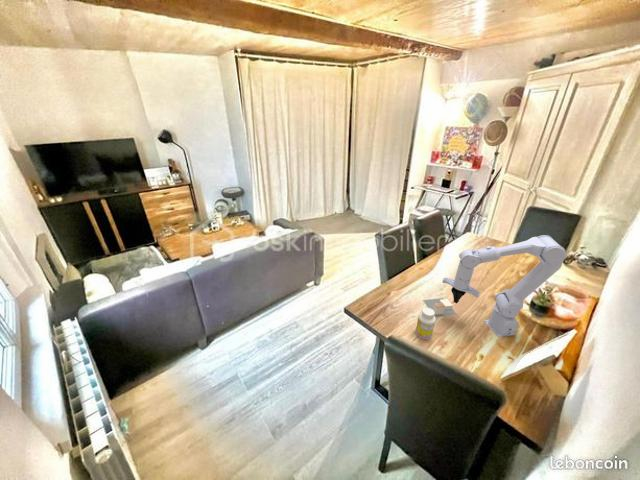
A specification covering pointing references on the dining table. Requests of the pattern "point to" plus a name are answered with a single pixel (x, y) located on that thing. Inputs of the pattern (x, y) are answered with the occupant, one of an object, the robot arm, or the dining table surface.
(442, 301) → the slab
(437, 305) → the slab
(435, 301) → the mat
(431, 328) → the supplement bottle
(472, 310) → the dining table surface
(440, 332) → the dining table surface
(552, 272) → the robot arm
